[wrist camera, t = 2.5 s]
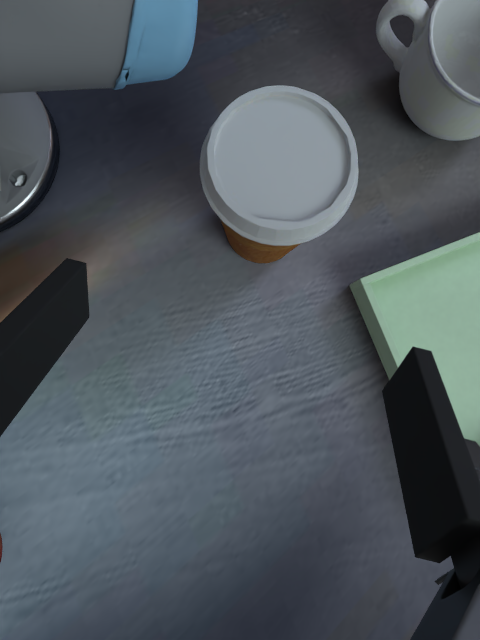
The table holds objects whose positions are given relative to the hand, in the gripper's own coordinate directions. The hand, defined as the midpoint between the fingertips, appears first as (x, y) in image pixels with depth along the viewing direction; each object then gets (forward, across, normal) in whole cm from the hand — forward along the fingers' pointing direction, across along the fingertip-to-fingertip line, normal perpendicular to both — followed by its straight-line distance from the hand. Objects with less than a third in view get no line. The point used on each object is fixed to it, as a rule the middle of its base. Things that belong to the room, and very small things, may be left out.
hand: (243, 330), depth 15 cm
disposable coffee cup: (+20, 0, -5) cm, 20 cm away
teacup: (+31, +12, +7) cm, 34 cm away
